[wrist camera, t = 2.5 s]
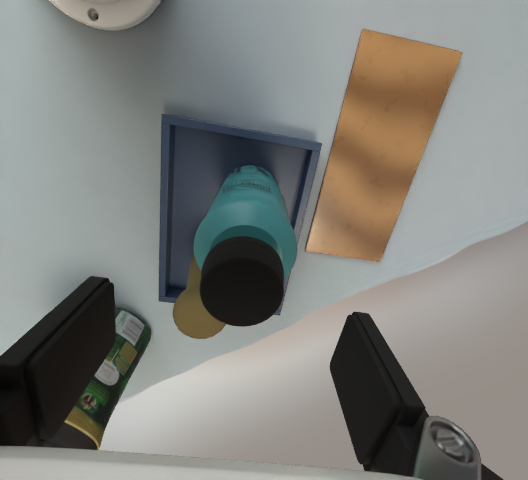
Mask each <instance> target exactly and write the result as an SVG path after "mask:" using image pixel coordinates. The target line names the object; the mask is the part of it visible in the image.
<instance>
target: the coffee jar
mask: <svg viewBox="0 0 528 480" xmlns="http://www.w3.org/2000/svg"><path fill="white" fill-rule="evenodd" d="M115 322H116V341H115V344H114V346H113V348H112V349H111V351H110V352H109V354H108V356H107V357H106V359H105V360H104V362H103V363H102V365H101V366H100V368H99V369H98V371H97V372H96V374H95V375H94V377H93V379H92V380H91V382H90V383H89V385H88V386H87V388H86V389H85V391H84V392H83V394H82V395H81V397H80V399H79V400H78V402H77V403H76V405H75V406H74V408H73V409H72V411H71V412H70V414H69V415H68V417H67V419H66V420H65V422H64V423H63V425H62V426H61V428H60V429H59V431H58V432H57V434H56V435H55V437H54V438H53V439H51V440H47V441H46V442H45V444H44V445H43V447H50V448H69V449H87V450H99V447H100V445H101V441H102V437H103V434H104V431H105V428H106V426H107V423H108V421H109V419H110V417H111V415H112V412H113V410H114V408H115V406H116V405H117V403H118V401H119V399H120V397H121V395H122V393H123V391H124V389H125V387H126V385H127V383H128V381H129V379H130V377H131V375H132V373H133V372H134V370H135V368H136V366H137V364H138V363H139V361H140V359H141V357H142V355H143V353H144V351H145V349H146V347H147V345H148V343H149V341H150V338H151V335H150V331H149V329H148V328H147V326H146V325H145V323H144V322H143V321H142V320H141V319H140V318H138V317H137V316H136V315H134V314H132V313H130V312H128V311H126V310H123V309H115Z"/></svg>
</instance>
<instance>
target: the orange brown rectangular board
mask: <svg viewBox="0 0 528 480" xmlns="http://www.w3.org/2000/svg"><path fill="white" fill-rule="evenodd" d="M461 55H462V52H459V51H455V50H451V49H446V48H442V47H438V46H434V45H429V44H425V43H421V42H417V41H412V40H408V39H404V38H400V37H395V36H391V35H387V34H382V33H378V32H374V31H370V30H365V29H363V30H362V33H361V37H360V41H359V44H358V48H357V52H356V56H355V60H354V64H353V67H352V71H351V75H350V79H349V83H348V87H347V90H346V94H345V98H344V102H343V106H342V110H341V113H340V117H339V121H338V125H337V129H336V133H335V136H334V140H333V144H332V148H331V152H330V156H329V159H328V163H327V167H326V171H325V175H324V179H323V182H322V186H321V190H320V194H319V198H318V202H317V205H316V209H315V213H314V217H313V221H312V225H311V228H310V232H309V236H308V240H307V244H306V248H305V251H308V252H315V253H322V254H329V255H336V256H343V257H350V258H357V259H364V260H371V261H378V262H380V260H381V258H382V255H383V253H384V250H385V248H386V245H387V243H388V240H389V238H390V235H391V233H392V230H393V228H394V225H395V222H396V220H397V217H398V215H399V212H400V210H401V207H402V205H403V202H404V200H405V197H406V195H407V192H408V190H409V187H410V184H411V182H412V179H413V177H414V174H415V172H416V169H417V167H418V164H419V162H420V159H421V157H422V154H423V152H424V149H425V146H426V144H427V141H428V139H429V136H430V134H431V131H432V129H433V126H434V124H435V121H436V119H437V116H438V113H439V111H440V108H441V106H442V103H443V101H444V98H445V96H446V93H447V91H448V88H449V86H450V83H451V81H452V78H453V75H454V73H455V70H456V68H457V65H458V63H459V60H460V58H461Z"/></svg>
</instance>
